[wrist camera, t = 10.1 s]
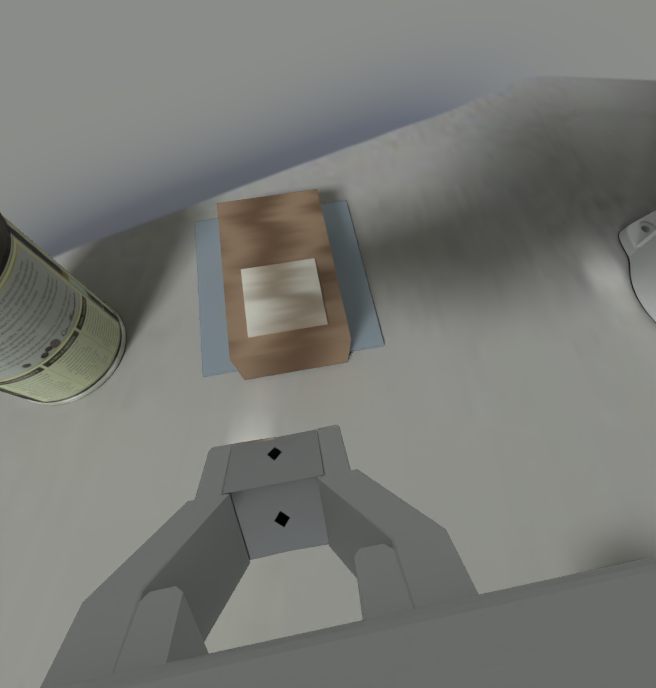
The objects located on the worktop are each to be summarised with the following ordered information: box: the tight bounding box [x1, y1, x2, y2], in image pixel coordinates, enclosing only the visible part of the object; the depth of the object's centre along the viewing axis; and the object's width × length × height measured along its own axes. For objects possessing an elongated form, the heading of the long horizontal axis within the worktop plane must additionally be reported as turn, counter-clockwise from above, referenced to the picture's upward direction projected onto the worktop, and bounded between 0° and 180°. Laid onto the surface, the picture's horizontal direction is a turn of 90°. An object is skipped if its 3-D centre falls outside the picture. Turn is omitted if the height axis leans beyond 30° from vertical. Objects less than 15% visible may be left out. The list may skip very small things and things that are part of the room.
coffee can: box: [0, 213, 126, 405], centre depth 26 cm, size 10×10×14 cm
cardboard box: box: [217, 189, 351, 380], centre depth 32 cm, size 9×5×15 cm
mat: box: [195, 200, 384, 377], centre depth 35 cm, size 17×16×1 cm
